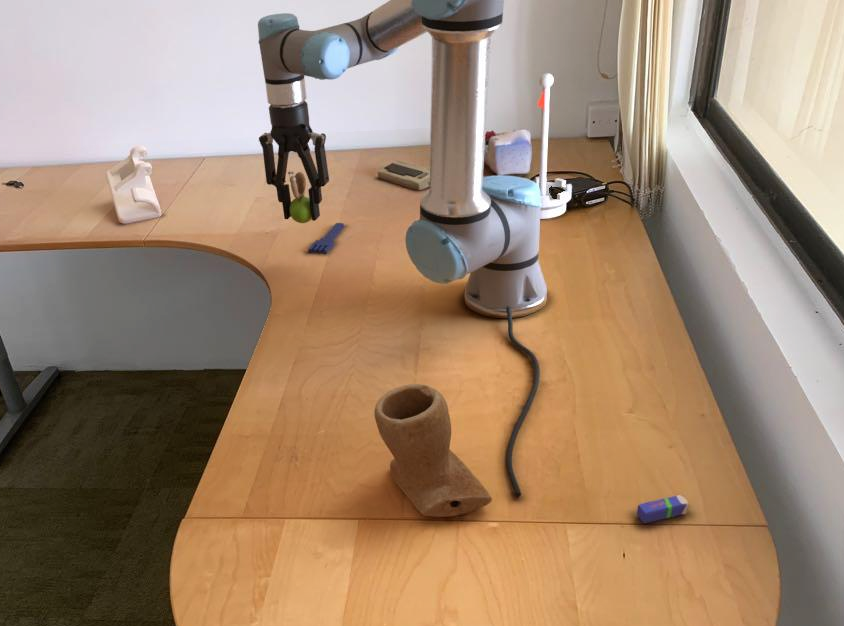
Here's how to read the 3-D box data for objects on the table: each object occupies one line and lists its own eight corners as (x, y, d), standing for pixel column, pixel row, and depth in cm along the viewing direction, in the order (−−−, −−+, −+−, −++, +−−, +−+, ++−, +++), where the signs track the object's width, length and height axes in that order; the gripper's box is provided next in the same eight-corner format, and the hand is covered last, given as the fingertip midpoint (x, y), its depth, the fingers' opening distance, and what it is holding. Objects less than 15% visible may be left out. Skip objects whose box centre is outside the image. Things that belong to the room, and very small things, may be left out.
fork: (326, 254, 184) (325, 250, 183) (308, 252, 185) (308, 249, 185) (348, 226, 195) (348, 223, 195) (331, 226, 197) (331, 222, 196)
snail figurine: (285, 228, 173) (277, 171, 167) (296, 216, 178) (288, 161, 172) (310, 229, 172) (303, 172, 165) (320, 217, 177) (313, 161, 170)
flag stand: (524, 196, 201) (528, 64, 184) (578, 202, 195) (587, 66, 178) (503, 216, 192) (505, 79, 175) (559, 223, 186) (566, 82, 169)
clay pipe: (369, 471, 120) (360, 383, 112) (445, 448, 123) (441, 361, 114) (411, 538, 108) (404, 445, 100) (494, 511, 111) (494, 418, 102)
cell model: (492, 139, 204) (472, 119, 221) (492, 182, 210) (473, 159, 227) (544, 131, 205) (521, 112, 222) (543, 175, 211) (520, 153, 227)
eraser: (687, 515, 107) (689, 503, 106) (644, 525, 106) (645, 513, 105) (679, 505, 108) (681, 493, 107) (636, 515, 108) (637, 503, 106)
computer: (377, 179, 220) (376, 166, 218) (400, 170, 224) (399, 158, 222) (419, 191, 210) (418, 178, 208) (442, 182, 214) (441, 169, 212)
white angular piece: (167, 230, 217) (161, 194, 206) (123, 239, 215) (114, 203, 203) (150, 175, 226) (143, 138, 215) (107, 184, 224) (98, 146, 212)
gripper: (339, 97, 161) (350, 212, 174) (252, 97, 167) (268, 208, 180) (325, 108, 156) (337, 226, 169) (236, 108, 161) (254, 222, 174)
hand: (302, 217), depth 174 cm, fingers closed on snail figurine, 5 cm apart
